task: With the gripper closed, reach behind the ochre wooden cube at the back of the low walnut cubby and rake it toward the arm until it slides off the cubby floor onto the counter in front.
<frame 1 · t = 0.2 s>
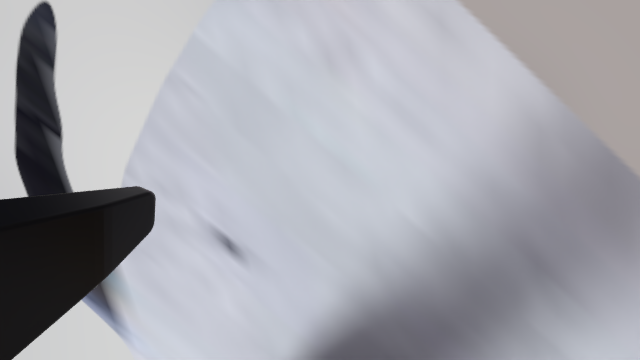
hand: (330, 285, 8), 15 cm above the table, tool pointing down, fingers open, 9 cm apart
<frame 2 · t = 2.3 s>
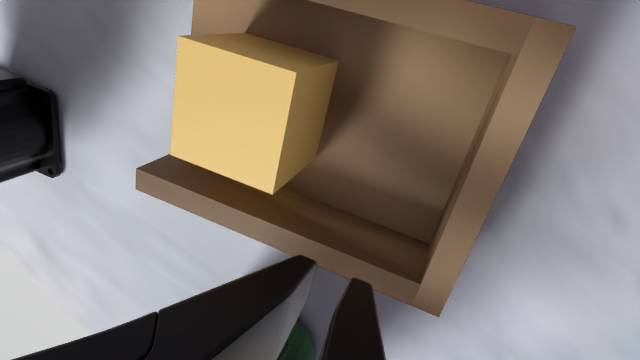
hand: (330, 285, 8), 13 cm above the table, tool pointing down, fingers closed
coffee jar: (263, 342, 29), on the table
ochre cube: (280, 97, 20), point 1 cm above the table, touching walnut cubby
walnut cubby: (334, 107, 21), on the table
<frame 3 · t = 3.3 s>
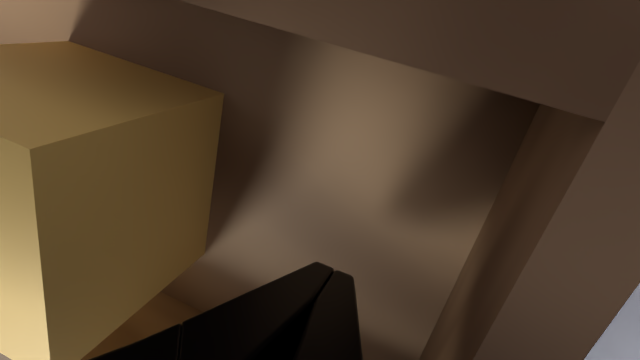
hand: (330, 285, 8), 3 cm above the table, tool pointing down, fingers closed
ochre cube: (139, 152, 12), point 1 cm above the table, touching walnut cubby
walnut cubby: (236, 167, 12), on the table
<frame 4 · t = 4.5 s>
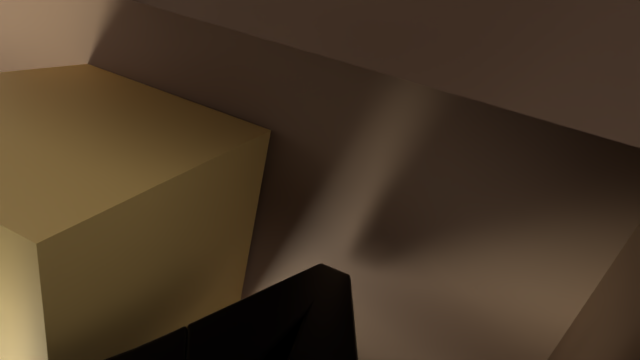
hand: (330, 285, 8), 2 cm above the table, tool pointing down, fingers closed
ochre cube: (166, 191, 10), point 1 cm above the table, touching gripper, walnut cubby
walnut cubby: (280, 206, 11), on the table
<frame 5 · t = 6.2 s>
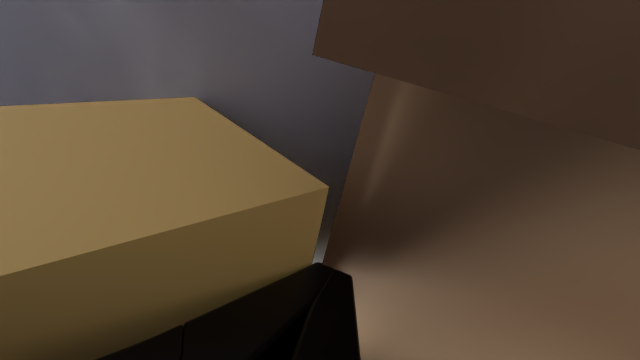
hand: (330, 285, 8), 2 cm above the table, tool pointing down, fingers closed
ochre cube: (239, 229, 10), point 1 cm above the table, tilted 27°, touching gripper
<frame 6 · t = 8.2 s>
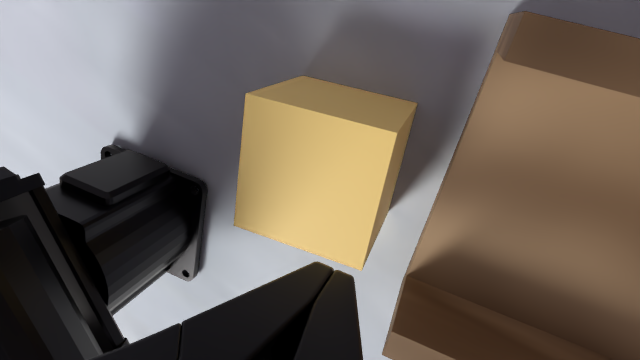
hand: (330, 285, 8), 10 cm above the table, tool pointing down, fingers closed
ochre cube: (346, 144, 18), on the table
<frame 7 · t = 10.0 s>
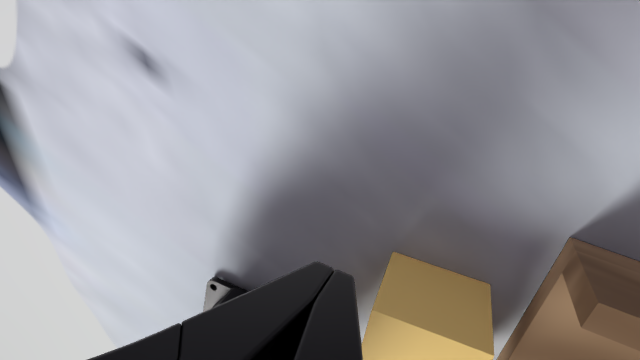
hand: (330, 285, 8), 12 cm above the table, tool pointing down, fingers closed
ochre cube: (426, 303, 22), on the table
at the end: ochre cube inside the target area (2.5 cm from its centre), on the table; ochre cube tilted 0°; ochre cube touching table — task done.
